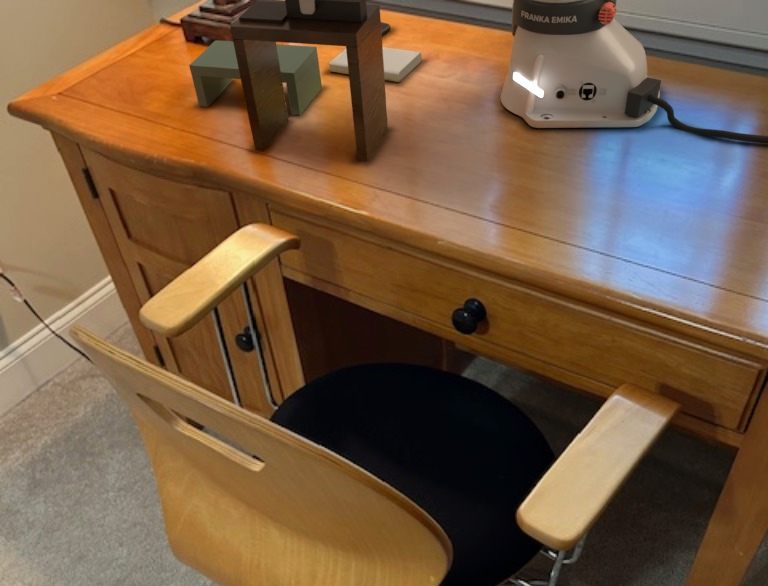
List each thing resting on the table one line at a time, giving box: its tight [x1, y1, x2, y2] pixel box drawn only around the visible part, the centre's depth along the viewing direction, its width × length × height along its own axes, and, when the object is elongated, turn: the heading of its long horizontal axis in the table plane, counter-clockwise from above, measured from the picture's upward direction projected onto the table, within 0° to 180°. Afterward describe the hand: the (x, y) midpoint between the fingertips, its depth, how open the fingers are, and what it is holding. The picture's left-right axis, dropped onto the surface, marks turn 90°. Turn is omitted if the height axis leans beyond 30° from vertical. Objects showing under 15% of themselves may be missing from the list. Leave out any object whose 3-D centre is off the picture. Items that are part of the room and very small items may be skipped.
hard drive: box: [328, 46, 423, 83], centre depth 126 cm, size 2×8×12 cm
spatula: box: [238, 0, 367, 23], centre depth 99 cm, size 16×6×2 cm, turn 71°
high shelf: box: [229, 0, 389, 163], centre depth 106 cm, size 17×9×16 cm, turn 71°
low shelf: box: [188, 39, 323, 116], centre depth 120 cm, size 17×9×6 cm, turn 71°
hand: (315, 6), depth 99 cm, fingers closed on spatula, 2 cm apart
